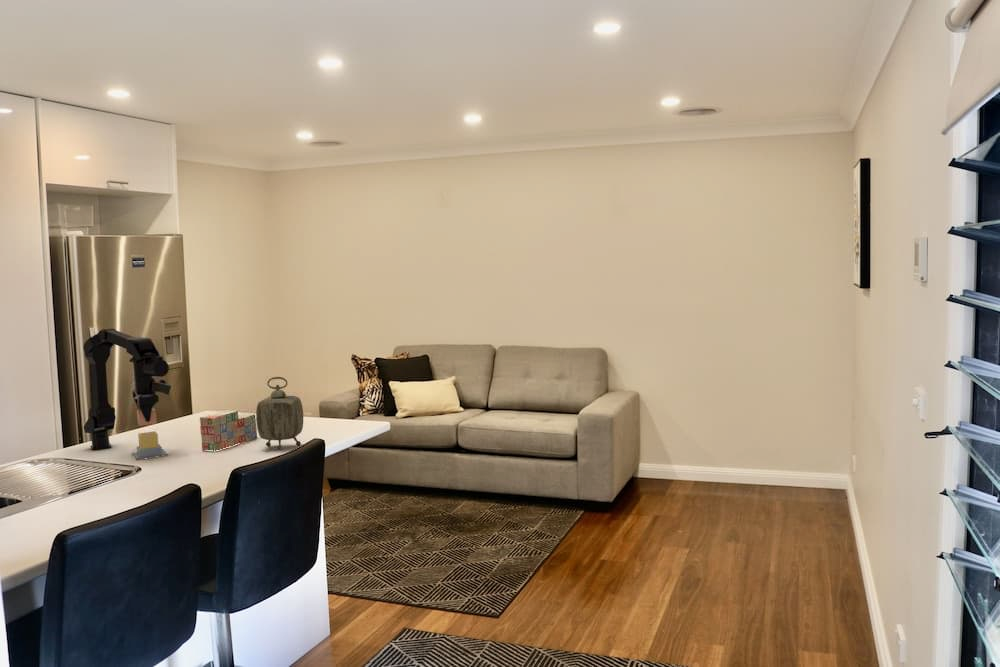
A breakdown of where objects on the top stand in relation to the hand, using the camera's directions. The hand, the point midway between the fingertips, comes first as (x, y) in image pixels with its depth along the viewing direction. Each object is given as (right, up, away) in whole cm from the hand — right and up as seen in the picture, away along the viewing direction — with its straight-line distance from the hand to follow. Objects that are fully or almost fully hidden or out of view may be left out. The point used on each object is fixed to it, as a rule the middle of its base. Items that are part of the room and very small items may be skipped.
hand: (146, 420), depth 288 cm
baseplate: (+1, -12, +1) cm, 12 cm away
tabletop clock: (+45, -10, +4) cm, 46 cm away
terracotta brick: (0, -1, 0) cm, 1 cm away
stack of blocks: (+25, -10, +13) cm, 30 cm away
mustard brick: (0, -9, +1) cm, 9 cm away
